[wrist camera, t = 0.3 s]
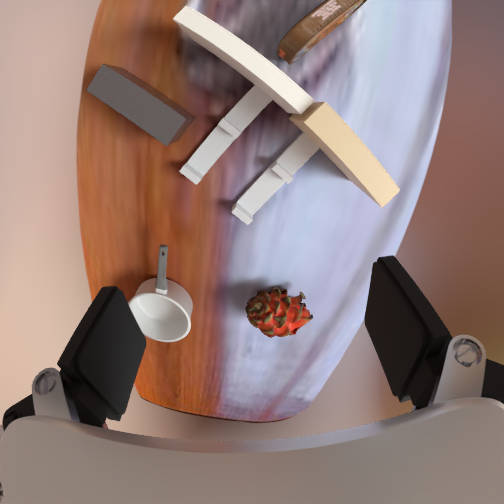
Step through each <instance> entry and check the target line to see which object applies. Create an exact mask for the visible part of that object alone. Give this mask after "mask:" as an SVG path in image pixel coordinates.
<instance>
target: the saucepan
mask: <svg viewBox="0 0 504 504" xmlns="http://www.w3.org/2000/svg"><path fill="white" fill-rule="evenodd" d="M163 251H164V252H165V253H163ZM167 251H168V246H166V245H160V249H159V260H158V274H157V278H152V279H149V280H146V281H144V282H143V283H142V284H141V285H140V286H139V288H138V290H137V292H136V294H135V296H134V297H133V298H132V299H131V300H130V301H129V302H128V304H129V307H130V309H131V311H132V313H133V315H134V317H135V319H136V321H137V323H138V325H139V327H140V329H141V331H142V332H143V334H144V335H145V336H146V337H149V338H151V339H154V340H157V341H162V342H174V341H178V340H180V339H182V338H184V337H185V336H186V335H187V334H188V333H189V331H190V328H191V322H190V318H191V313H192V309H193V303H192V299H191V297H190V295H189V294H188V292H187V291H186V290H185V289H184V288H183V287H182V286H180V285H179V284H177V283H175V282H173V281H171V280H168V279H166V263H167Z"/></svg>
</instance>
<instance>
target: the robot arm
mask: <svg viewBox="0 0 504 504" xmlns="http://www.w3.org/2000/svg"><path fill="white" fill-rule="evenodd" d="M365 326H366V328H367V330H368V333H369V335H370V337H371V340H372V342H373V345H374V347H375V350H376V352H377V354H378V357H379V359H380V362H381V365H382V367H383V370H384V372H385V374H386V377H387V380H388V382H389V385H390V388H391V391H392V393H393V395H394V396H398V398H399V401H400V402H404V401H407V400H410V399H411V401H412V403H413V405H414V407H413V410H412V412H409V413H406V414H403V415H399V416H396V417H392V418H389V419H385V420H381V421H378V422H374V423H370V424H365V425H361V426H357V427H353V428H348V429H343V430H339V431H333V432H328V433H322V434H316V435H309V436H301V437H293V438H283V439H273V440H258V441H195V440H179V439H169V438H159V437H151V436H144V435H137V434H131V433H125V432H120V431H114V430H110V429H108V427H107V424H106V422H105V420H106V417H107V418H108V419H110V420H116V421H120V419H121V416H122V415H123V414H124V413H125V411H126V408H127V404H128V401H129V398H130V394H131V390H132V387H133V384H134V381H135V378H136V375H137V372H138V369H139V366H140V363H141V360H142V357H143V354H144V351H145V348H146V338H145V336H144V334H143V332H142V331H141V329H140V327H139V325H138V323H137V321H136V319H135V317H134V315H133V313H132V311H131V309H130V307H129V304H128V302H127V300H126V298H125V296H124V294H123V292H122V290H120V289H118V287H116V286H109V287H102V288H101V290H100V291H99V293H98V294H97V296H96V297H95V299H94V301H93V302H92V304H91V305H90V307H89V308H88V310H87V312H86V313H85V315H84V317H83V318H82V320H81V322H80V323H79V325H78V327H77V328H76V330H75V332H74V333H73V335H72V337H71V339H70V341H69V342H68V344H67V346H66V348H65V350H64V352H63V353H62V355H61V357H60V359H59V361H58V363H57V364H58V366H59V367H60V368H61V370H60V372H59V371H58V370H56V369H55V368H46V369H44V370H42V371H41V372H39V374H38V375H37V376H36V377H35V379H34V381H33V384H32V394H31V395H29V396H28V397H26V398H24V399H23V400H21V401H20V402H18V403H16V404H15V405H13V406H11V407H10V408H9V409H8V410H6V412H5V413H4V417H3V426H2V425H0V504H504V365H502V364H499V363H497V362H494V361H491V360H489V359H486V352H485V349H484V347H483V346H482V344H481V343H480V342H479V341H478V340H477V339H475V338H474V337H472V336H469V335H459V336H456V337H454V338H452V336H451V335H450V332H449V331H448V329H447V328H446V326H445V325H444V323H443V322H442V320H441V319H440V317H439V316H438V314H437V313H436V312H435V310H434V308H433V307H432V306H431V304H430V303H429V301H428V300H427V298H426V297H425V296H424V294H423V293H422V292H421V290H420V289H419V287H418V286H417V285H416V283H415V282H414V281H413V279H412V278H411V277H410V275H409V274H408V273H407V272H406V270H405V269H404V268H403V267H402V265H401V264H400V263H399V262H398V260H397V259H396V258H395V257H394V256H385V257H379V258H378V259H377V262H374V263H373V267H372V275H371V282H370V288H369V295H368V301H367V307H366V312H365Z"/></svg>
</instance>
